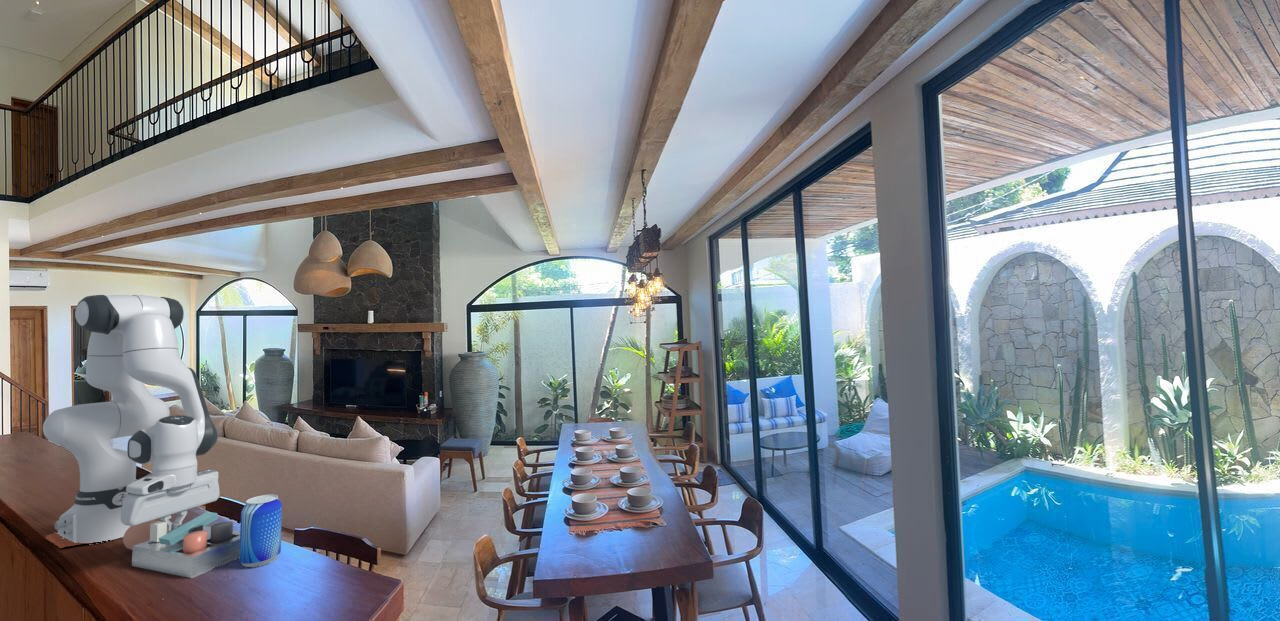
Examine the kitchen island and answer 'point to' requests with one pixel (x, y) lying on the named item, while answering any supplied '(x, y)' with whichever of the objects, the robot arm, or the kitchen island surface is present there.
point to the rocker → (187, 528)
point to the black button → (221, 532)
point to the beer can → (260, 530)
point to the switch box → (185, 555)
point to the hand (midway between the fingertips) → (173, 529)
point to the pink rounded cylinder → (194, 542)
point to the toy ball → (137, 534)
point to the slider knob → (157, 530)
